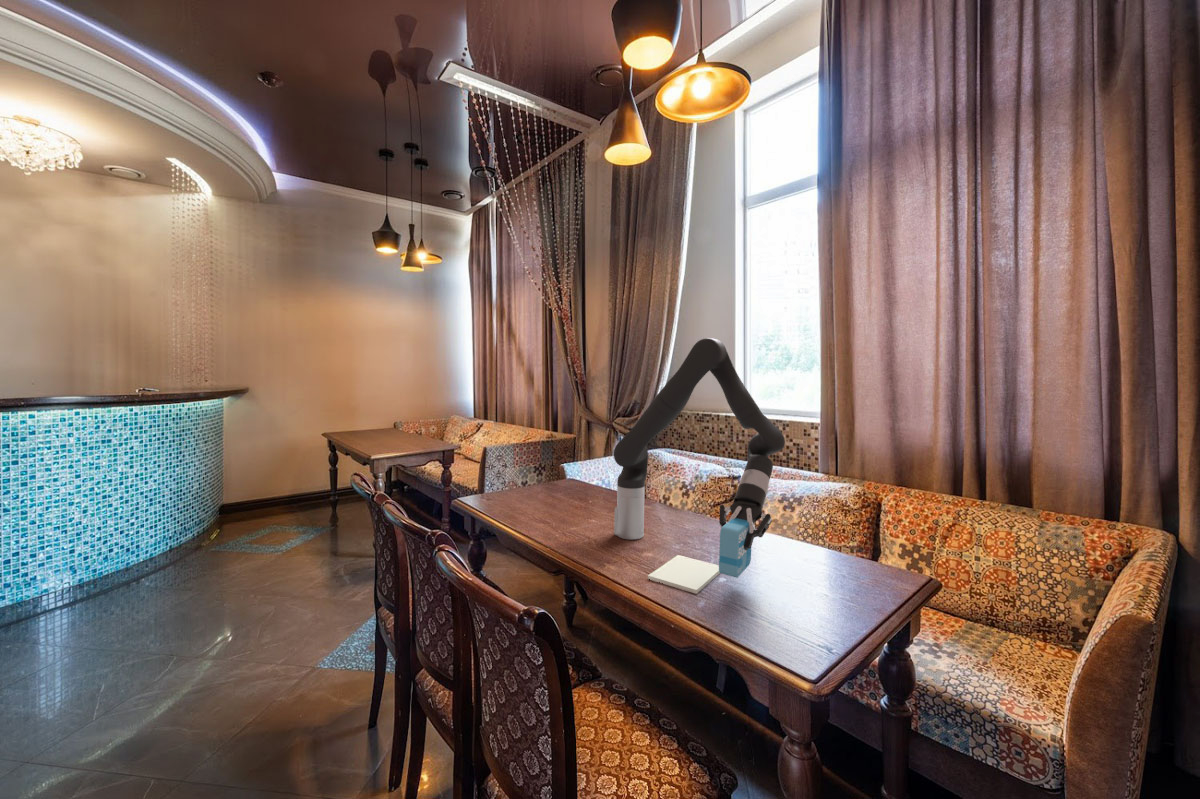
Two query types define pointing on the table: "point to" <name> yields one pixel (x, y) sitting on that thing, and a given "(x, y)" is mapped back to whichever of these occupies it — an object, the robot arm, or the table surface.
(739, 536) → the data package
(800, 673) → the table surface
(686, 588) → the cream mat
